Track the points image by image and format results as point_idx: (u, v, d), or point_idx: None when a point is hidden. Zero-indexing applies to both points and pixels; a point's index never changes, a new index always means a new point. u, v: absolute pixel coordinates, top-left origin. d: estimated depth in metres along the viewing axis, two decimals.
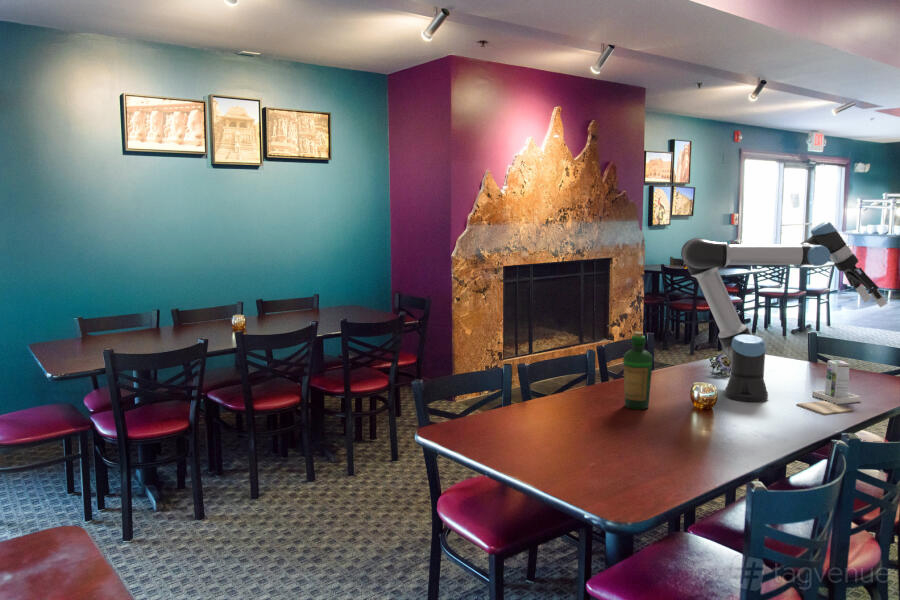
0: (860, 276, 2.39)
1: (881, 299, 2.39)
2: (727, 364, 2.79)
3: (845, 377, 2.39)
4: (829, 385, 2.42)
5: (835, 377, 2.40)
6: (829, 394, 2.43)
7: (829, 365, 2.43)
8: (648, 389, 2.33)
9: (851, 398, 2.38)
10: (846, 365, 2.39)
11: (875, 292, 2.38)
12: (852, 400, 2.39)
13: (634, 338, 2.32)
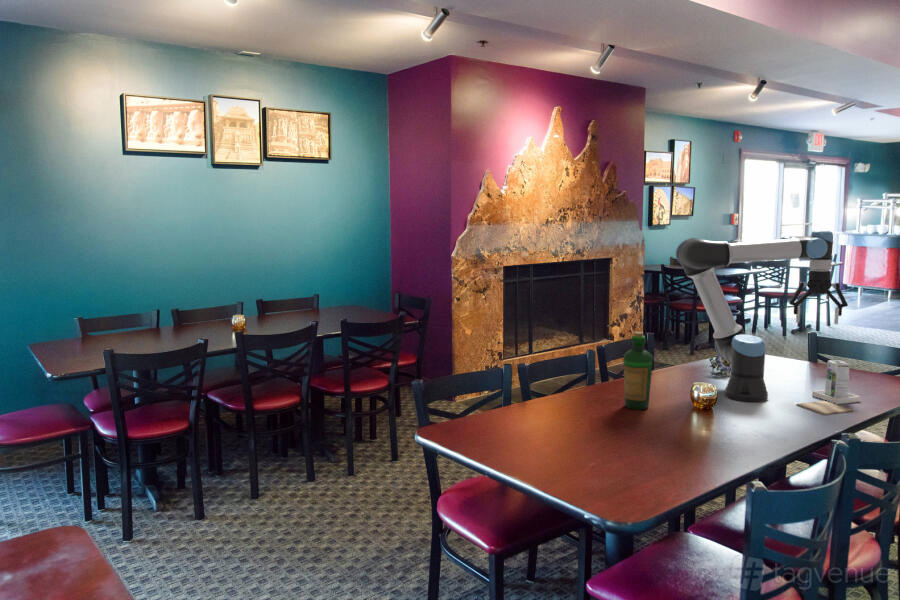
0: None
1: None
2: (727, 364, 2.79)
3: (845, 377, 2.39)
4: (829, 385, 2.42)
5: (835, 377, 2.40)
6: (829, 394, 2.43)
7: (829, 365, 2.43)
8: (648, 389, 2.33)
9: (851, 398, 2.38)
10: (846, 365, 2.39)
11: None
12: (852, 400, 2.39)
13: (634, 338, 2.32)
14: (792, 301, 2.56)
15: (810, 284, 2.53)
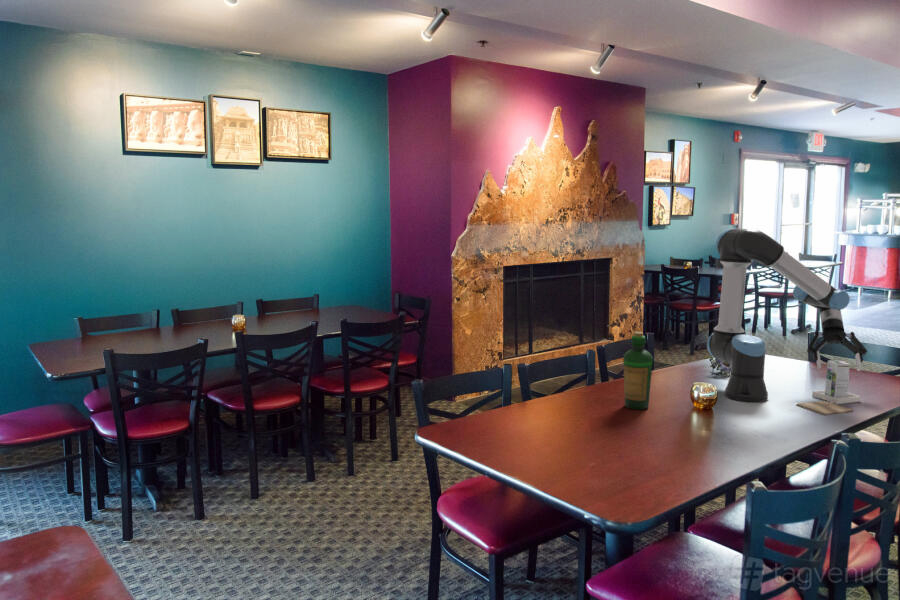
0: None
1: None
2: (727, 364, 2.79)
3: (845, 377, 2.39)
4: (829, 385, 2.42)
5: (835, 377, 2.40)
6: (829, 394, 2.43)
7: (829, 365, 2.43)
8: (648, 389, 2.33)
9: (851, 398, 2.38)
10: (846, 365, 2.39)
11: None
12: (852, 400, 2.39)
13: (634, 338, 2.32)
14: (810, 346, 2.52)
15: (825, 332, 2.54)
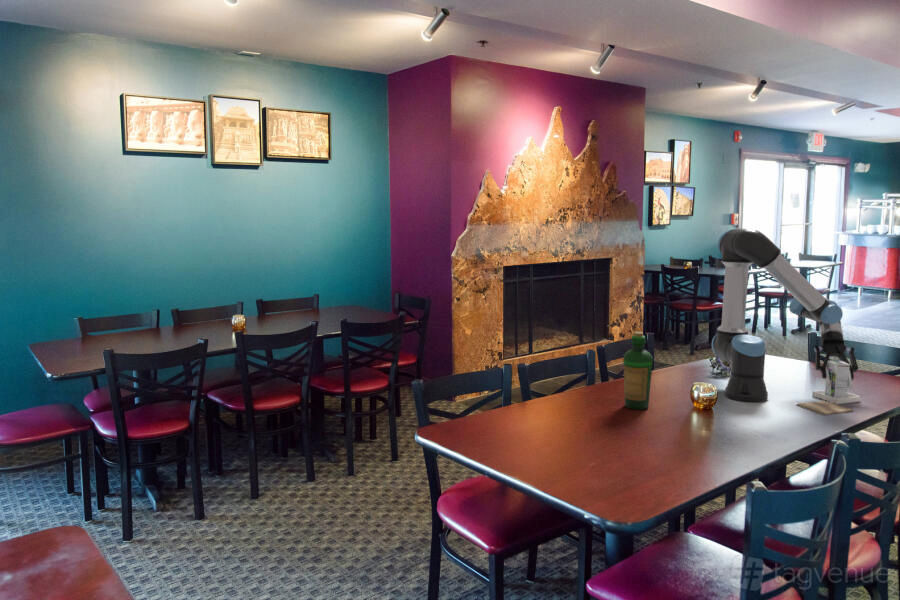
0: None
1: None
2: (727, 364, 2.79)
3: (844, 377, 2.39)
4: (829, 385, 2.42)
5: (835, 377, 2.40)
6: (829, 394, 2.43)
7: (829, 365, 2.43)
8: (648, 389, 2.33)
9: (851, 398, 2.38)
10: (846, 365, 2.39)
11: None
12: (852, 400, 2.39)
13: (634, 338, 2.32)
14: (818, 363, 2.46)
15: (824, 345, 2.50)
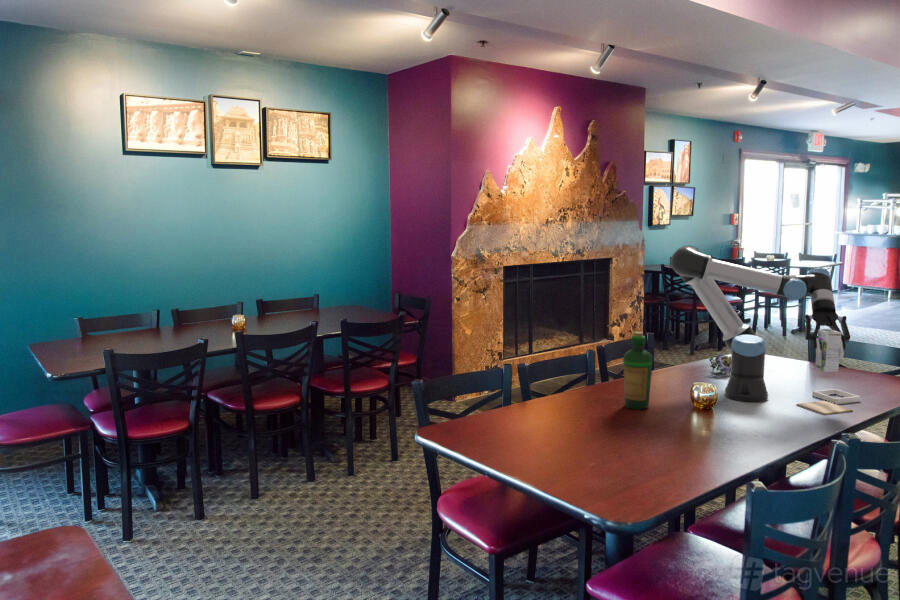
0: None
1: None
2: (727, 364, 2.79)
3: (836, 346, 2.26)
4: (820, 355, 2.29)
5: (826, 346, 2.27)
6: (819, 365, 2.29)
7: (819, 334, 2.30)
8: (648, 389, 2.33)
9: (851, 398, 2.38)
10: (837, 334, 2.26)
11: None
12: (852, 400, 2.39)
13: (634, 338, 2.32)
14: (808, 333, 2.32)
15: (815, 314, 2.36)
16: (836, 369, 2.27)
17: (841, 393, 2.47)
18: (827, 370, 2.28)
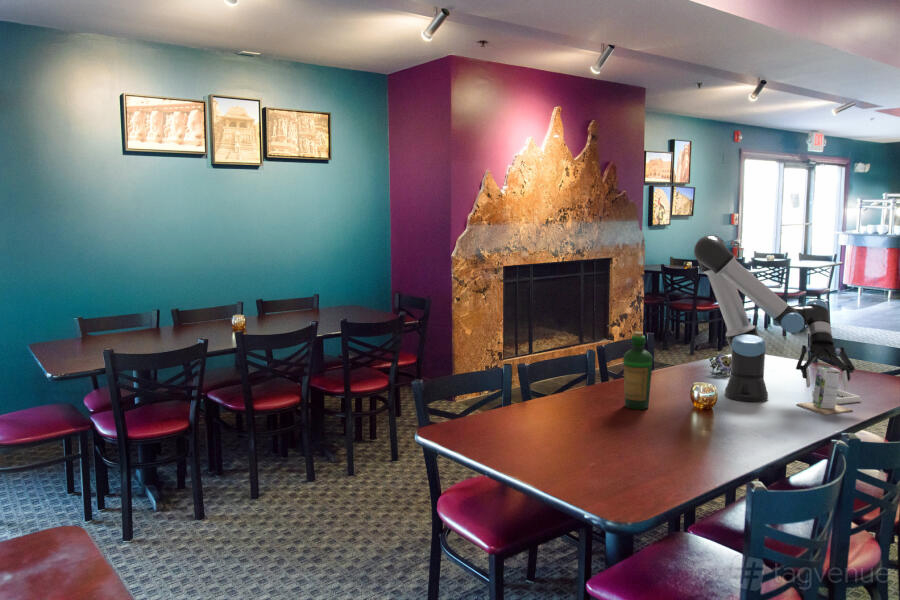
0: None
1: None
2: (727, 364, 2.79)
3: (834, 383, 2.28)
4: (818, 392, 2.31)
5: (824, 383, 2.28)
6: (817, 401, 2.31)
7: (818, 371, 2.31)
8: (648, 389, 2.33)
9: (851, 398, 2.38)
10: (836, 371, 2.27)
11: None
12: (852, 400, 2.39)
13: (634, 338, 2.32)
14: (799, 363, 2.35)
15: (813, 346, 2.38)
16: (833, 406, 2.29)
17: (841, 393, 2.47)
18: (824, 407, 2.29)
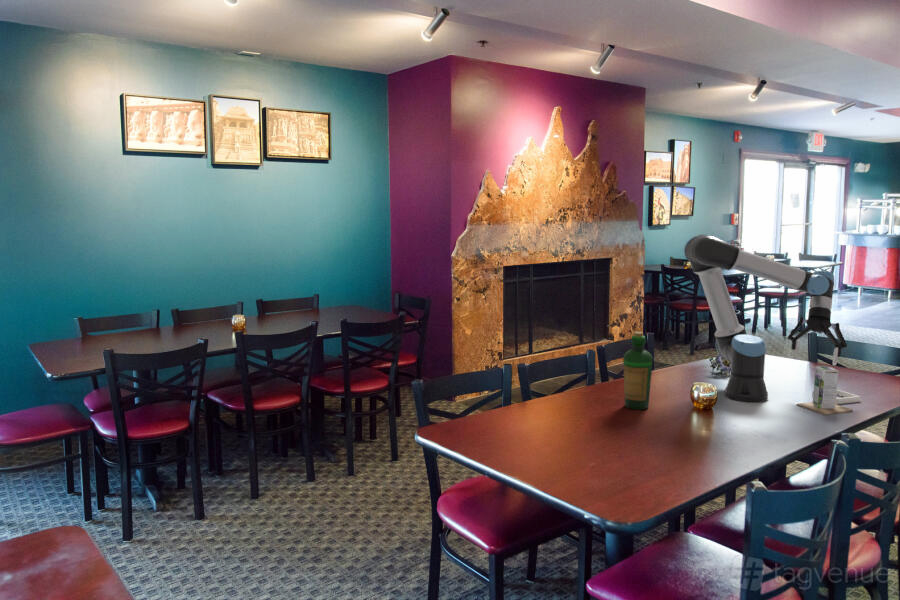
0: None
1: None
2: (727, 364, 2.79)
3: (833, 383, 2.28)
4: (817, 392, 2.31)
5: (823, 384, 2.28)
6: (817, 402, 2.31)
7: (817, 371, 2.32)
8: (648, 389, 2.33)
9: (851, 398, 2.38)
10: (834, 371, 2.27)
11: None
12: (852, 400, 2.39)
13: (634, 338, 2.32)
14: (791, 334, 2.49)
15: (810, 320, 2.49)
16: (833, 406, 2.29)
17: (841, 393, 2.47)
18: (824, 407, 2.29)
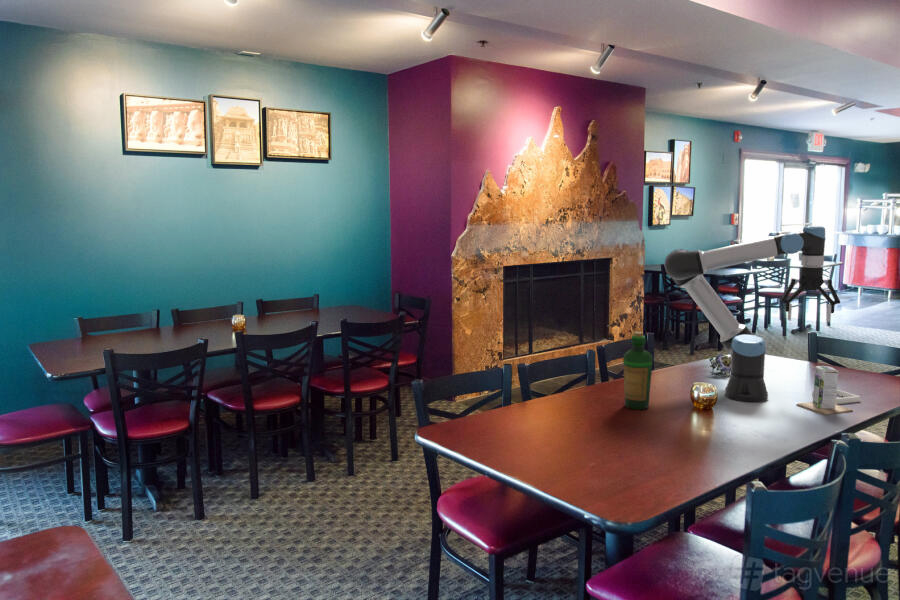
0: (832, 286, 2.44)
1: None
2: (727, 364, 2.79)
3: (833, 383, 2.28)
4: (817, 392, 2.31)
5: (823, 384, 2.28)
6: (817, 402, 2.31)
7: (817, 371, 2.32)
8: (648, 389, 2.33)
9: (851, 398, 2.38)
10: (834, 371, 2.27)
11: None
12: (852, 400, 2.39)
13: (634, 338, 2.32)
14: (784, 298, 2.50)
15: (802, 281, 2.47)
16: (833, 406, 2.29)
17: (841, 393, 2.47)
18: (824, 407, 2.29)
